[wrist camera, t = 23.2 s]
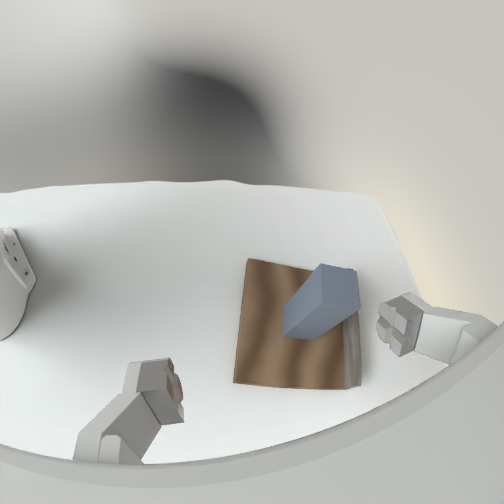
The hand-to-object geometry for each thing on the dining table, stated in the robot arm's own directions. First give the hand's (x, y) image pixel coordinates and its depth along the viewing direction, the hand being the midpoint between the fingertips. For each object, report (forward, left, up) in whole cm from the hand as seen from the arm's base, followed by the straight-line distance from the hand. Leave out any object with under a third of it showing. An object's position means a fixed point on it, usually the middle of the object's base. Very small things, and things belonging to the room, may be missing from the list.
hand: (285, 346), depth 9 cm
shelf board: (0, +17, -29) cm, 34 cm away
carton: (0, +17, -28) cm, 33 cm away
